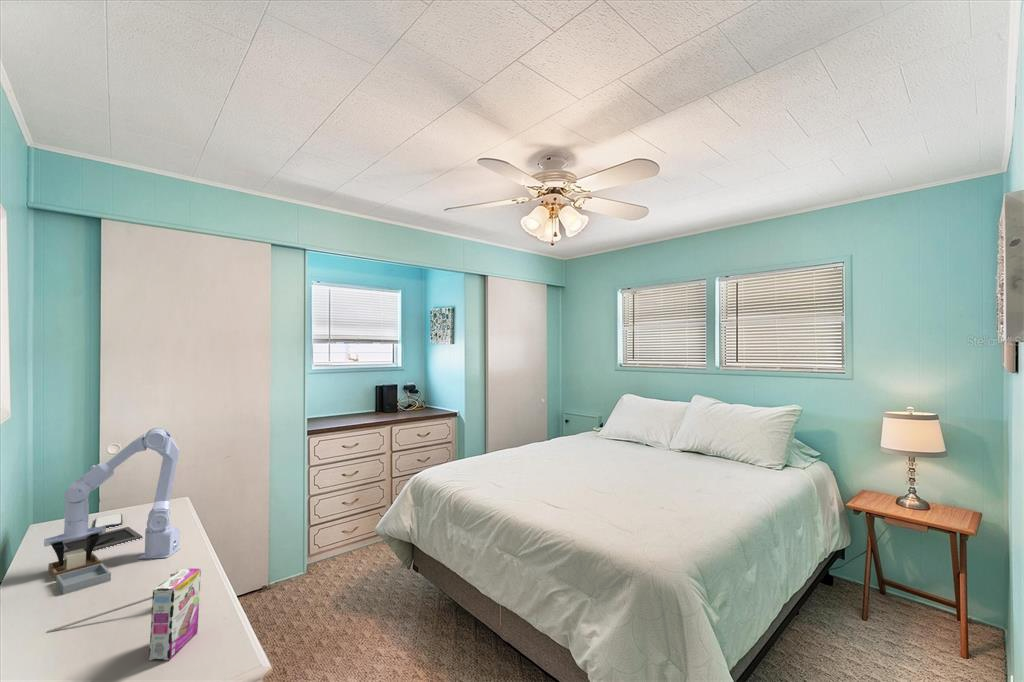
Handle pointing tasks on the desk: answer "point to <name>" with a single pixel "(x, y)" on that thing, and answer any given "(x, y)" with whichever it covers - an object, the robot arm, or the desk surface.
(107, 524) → the phone case
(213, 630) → the desk surface
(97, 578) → the grey tray
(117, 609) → the brush
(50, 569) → the walnut tray
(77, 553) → the sandstone block
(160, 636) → the candy bar box
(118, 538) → the picture frame
